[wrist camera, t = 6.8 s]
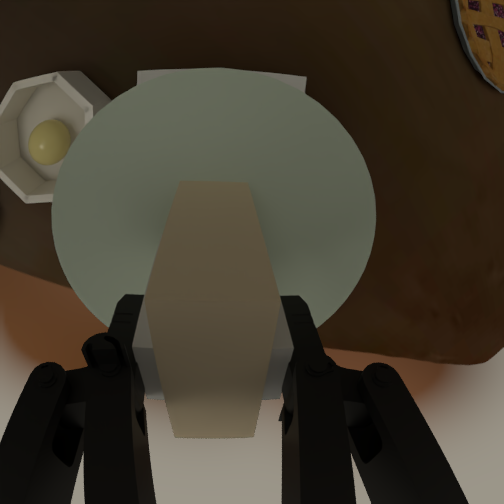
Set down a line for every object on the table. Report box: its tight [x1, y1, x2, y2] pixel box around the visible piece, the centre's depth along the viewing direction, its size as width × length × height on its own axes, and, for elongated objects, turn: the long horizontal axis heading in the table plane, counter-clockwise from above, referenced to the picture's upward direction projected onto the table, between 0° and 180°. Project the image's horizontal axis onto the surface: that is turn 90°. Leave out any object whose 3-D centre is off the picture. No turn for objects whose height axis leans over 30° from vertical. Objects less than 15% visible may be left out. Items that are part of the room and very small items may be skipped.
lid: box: [52, 68, 376, 438], centre depth 12 cm, size 17×17×9 cm
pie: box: [450, 0, 504, 93], centre depth 23 cm, size 22×22×5 cm
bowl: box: [0, 71, 112, 203], centre depth 27 cm, size 14×14×6 cm
